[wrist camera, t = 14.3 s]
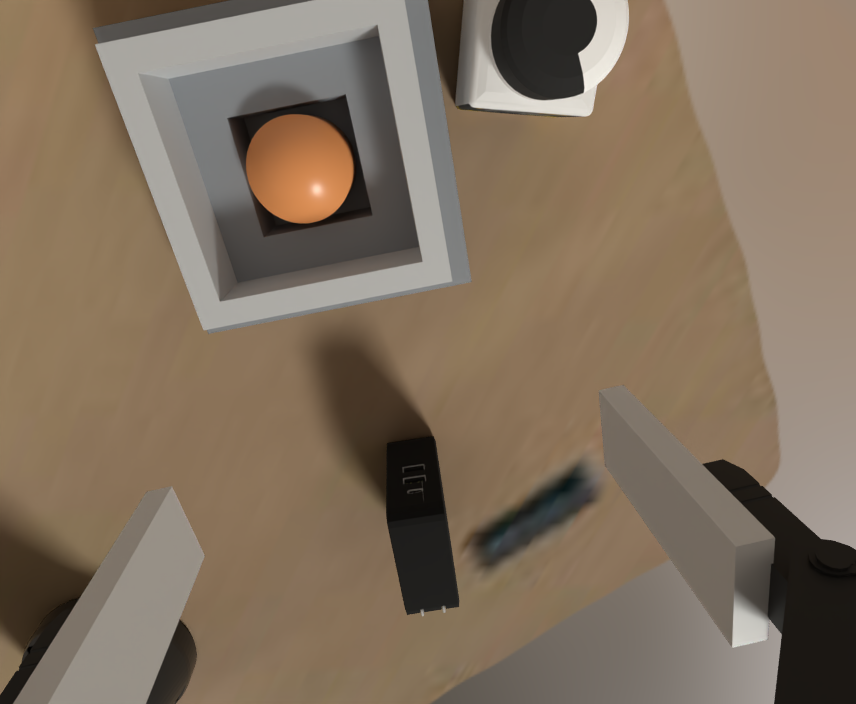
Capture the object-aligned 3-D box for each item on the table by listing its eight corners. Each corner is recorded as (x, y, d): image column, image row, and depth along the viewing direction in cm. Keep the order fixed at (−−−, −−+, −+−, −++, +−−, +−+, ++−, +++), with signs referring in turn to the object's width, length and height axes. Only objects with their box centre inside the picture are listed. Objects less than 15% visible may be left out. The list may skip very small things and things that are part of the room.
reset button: (280, 217, 37) (264, 232, 32) (253, 124, 35) (231, 125, 30) (365, 200, 37) (362, 212, 32) (344, 106, 35) (337, 104, 30)
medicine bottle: (454, 109, 36) (483, 104, 25) (464, -17, 33) (501, -83, 22) (556, 117, 37) (629, 116, 26) (575, -5, 34) (665, -65, 23)
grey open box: (228, 309, 41) (188, 357, 32) (133, 40, 33) (49, 14, 25) (462, 263, 40) (480, 300, 32) (417, -17, 33) (426, -62, 25)
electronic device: (434, 432, 46) (445, 509, 37) (447, 522, 50) (460, 612, 41) (385, 439, 46) (385, 518, 37) (403, 529, 50) (406, 620, 41)
